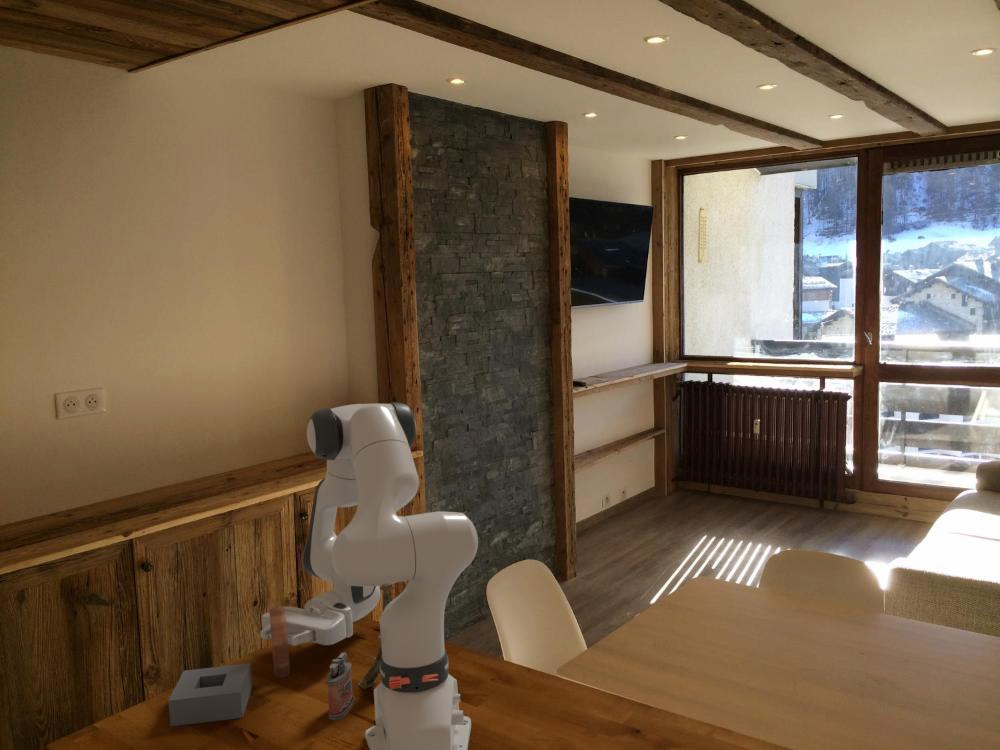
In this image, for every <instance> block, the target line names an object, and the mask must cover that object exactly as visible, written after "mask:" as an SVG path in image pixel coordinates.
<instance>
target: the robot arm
mask: <svg viewBox="0 0 1000 750" xmlns="http://www.w3.org/2000/svg"><path fill="white" fill-rule="evenodd" d="M414 415H415V414H414V413H413V411H412V409H411V408H410V407H409V406H408V405H407V404H405V403H402V402H392V401H390V402H389V403H356V404H355V403H354V404H352V403H351V404H347V405H341V406H338V407H333V408H330V407H325V408H321V409H318V410H315V411H314V412H313V413H312V415H311V416H310V417H309V420H308V425H307V427H306V440H307V443H308V445H309V447H310V450H311V452H312V454H313V455H314V456H315V457H316V458H317V459H319V460H322V461H326V475H325V477H324V478H322V479H321V480H320V481H319V482H318V484H317V486H316V488H315V491H314V496H313V500H312V507H311V513H310V519H309V520H310V521H309V528H308V533H307V539H306V542H305V544H304V548H303V551H302V557H301V558H302V565H303V568H304V570H305V571H306V573H307V574H308V575H311V576H313V577H315V578H319V579H322V580H323V581H326V582H327V583H330V584H332V588H331V590H329V591H325V592H324V593H321V594H319V595H317V596H315V597H313V598H311V599H309V600H307V602H306V603H305V604H304V607H303V608H299V607H295V606H283V607H284V608H285V614H286V627H287V639H288V646H292V647H296V646H297V645H302V644H306V643H307V644H308V643H312V644H313V643H314V644H318V645H322V646H332V645H335V644H337V643H338V642H341V641H342V640H344V639H348V638H350V637H352V636H353V635H354V624H353V623H355V622H357V621H359V620H361V619H362V618H364V617H365V616H367V615H368V614H369V613H370V612H371V613H372V611H373V610H374V609H375V608H376V607H377V605H378V603H379V601H380V598H381V589H380V587H381V586H382V585H385V584H391V583H392V584H395V583H402V582H406V581H408V582H407V584H406V586H405V588H404V590H403V591H402V592H401V593H400V594H399V595H398V596H396V597H395V598H394V599H393V600H392V601H391V602H390V603H389V604H388V605H387V606H386V607H385V609H384V611H383V610H382V611H383V613H381V616H380V618H379V629H380V630H379V631H380V636H381V646H382V656H381V658H380V679H381V681H380V683H379V684H378V685H377V686H376V687H375V688H374V689H373V698H374V699H373V700H374V719H373V724H374V725H373V726H371V727H370V728H368V729H366V730H365V732H364V738H365V741H366V744H367V746H368V749H369V750H468V749H469V742H470V737H471V736H470V735H471V728H472V721H471V720H472V719H471V718H470V717H469V716H467V715H466V716H465V715H464V710H462V709H461V710H460V705H459V703H461V701H462V700H461V693H459V692H458V691H459V690H458V681H457V679H456V678H454V677H453V676H452V675H451V674H450V672H449V669H450V668H449V664H450V663H449V657H448V652H447V651H448V650H447V649H446V648H445V625H444V624H445V611H446V604H447V601H448V597H449V595H450V593H451V590H452V588H453V586H454V584H455V583H456V581H457V579H458V577H459V576H460V575H461V574H462V572H463V571H465V569H466V568H467V567H469V566H470V565H471V564H472V563H473V560H474V559H475V557H476V555H477V552H478V551H477V550H478V548H479V536H478V531H477V529H476V527H475V525H474V523H473V522H472V520H471V519H470V517H468V516H467V515H466V514H465V513H462V512H457V511H432V512H424V513H418V514H410V515H405V516H401V515H400V516H399V515H397V512H398V511H399V510H401V509H402V508H404V507H405V506H407V505H408V504H409V503H410V502H411V501H412V500H413V498H414V497H415V496H416V494H417V492H418V490H419V487H420V478H419V474H418V471H417V468H416V463H415V462H414V458H413V455H412V450H411V448H412V446H413V445H414V443H415V441H416V437H417V422H416V419H415V416H414ZM354 506H355V507H356V506H357V508H356V510H355V513H354V515H353V517H352V519H351V521H350V522H349V523H348V524H347V525H346V526H345V528H343V529H342V530H341V531H340V532H339V534H338V535H337V534H336V532H335V524H336V518H337V511H338V508H350V507H354ZM261 628H262V629H261V630H260V632H259V633H260V639H262V640H266V641H267V640H269V639H271V626H270V614H269V611H268V612H266V613H263V615H262V616H261Z"/></svg>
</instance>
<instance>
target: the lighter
mask: <svg viewBox="0 0 1000 750" xmlns="http://www.w3.org/2000/svg"><path fill="white" fill-rule="evenodd" d="M347 660H348V653H346V652H341V653H340V655H338V656H337V658H333V659H332V661H331V664H330V665H329V673H328V674H327V676H326V678H325V683H326V685H327V695H328V696H327V698H328V709H329V710H328V719H329V720H330V719H331V721H339V720H341V719H343V718H344V717H345V716H346V715H347V714H348V713H349V712H350V711H351V710H352V707H353V706H354V704H355V696H354V694H353V693H354V692H353V684H352V683H353V682H352V663H351V662H346V661H347Z"/></svg>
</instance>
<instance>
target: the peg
mask: <svg viewBox="0 0 1000 750" xmlns="http://www.w3.org/2000/svg"><path fill="white" fill-rule="evenodd" d="M284 607H285V606H276V607H272V608H270V609H269V610H268V612H269V614H270V626H271V638H270V639H271V648H272V661H273V670H274V671H273V673H274V674H273V675H274V677H275V678H279V679H280V678H285V677H288V676H290V674H291V667H290V665H291V664H290V656H289V655H290V653H289V645H288V637H287V627H286V614H285V608H284Z"/></svg>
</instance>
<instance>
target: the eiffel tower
mask: <svg viewBox="0 0 1000 750" xmlns="http://www.w3.org/2000/svg"><path fill="white" fill-rule="evenodd" d="M393 585H394V583H391V584H385V585H380V586H379V588H380V591H382V613H383V611H384V609H385V607H386V606H387V605H388V604H389V603H390V602H391V601H392V600H394V599H393V594H392V591H393V590H394V589H396V588H395V587H394V586H393ZM382 613H381V614H382ZM377 642H379V646H378V650H377V654H376V657H375V656H374V657H373V659H374V662H373V663H372V665H371V666H370V668H369V669H368V671H367V672H366V673H365V675H364V676H363V678H362V680H361V681H360V682H358V683H357V686H359V687H360V688H362V689H363V690H366V689H368V688H371V687H373V686H376V685H377V681H375V680H377V677H378V676H379V675H380V674H381V672H380V658H381V656H382V646H381V635H378V636H377Z"/></svg>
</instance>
